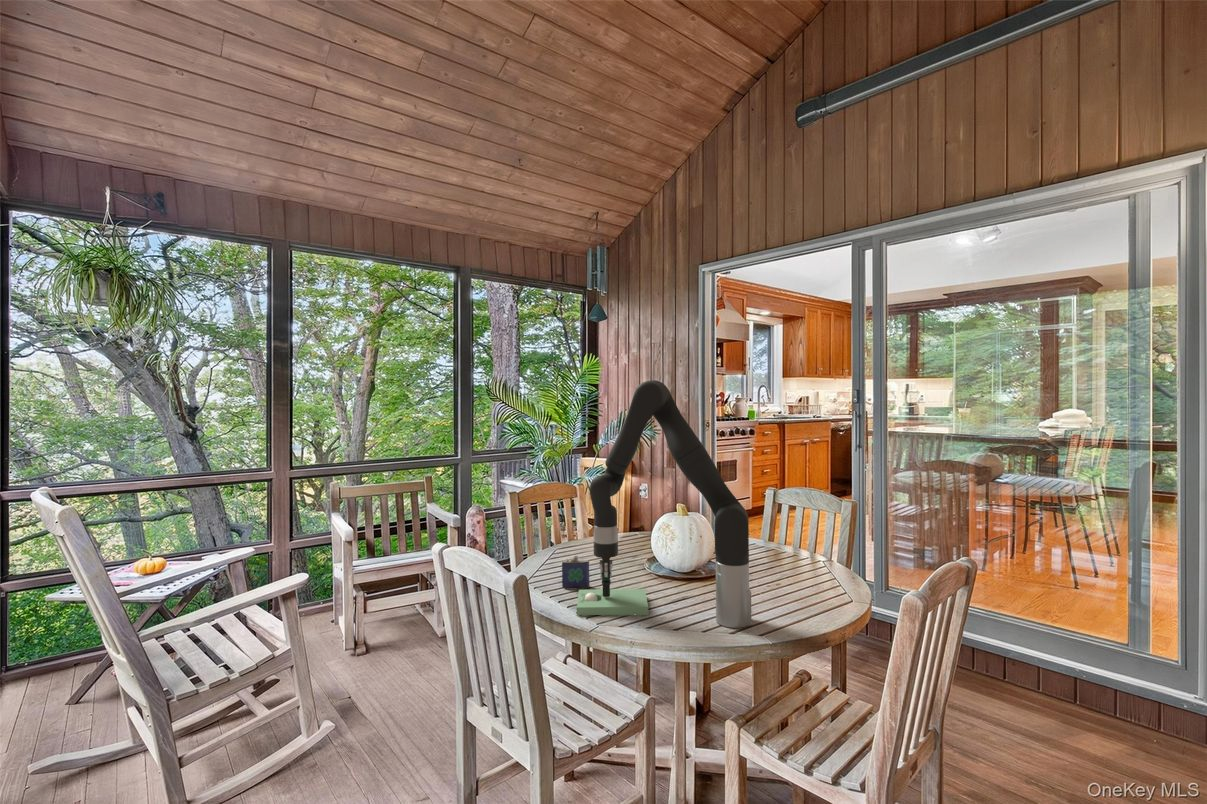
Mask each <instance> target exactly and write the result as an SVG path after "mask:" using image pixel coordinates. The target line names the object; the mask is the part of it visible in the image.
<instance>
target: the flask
mask: <svg viewBox="0 0 1207 804" xmlns="http://www.w3.org/2000/svg"><path fill="white" fill-rule="evenodd" d="M578 558H579V556H578V555H574V556H573V558H572V559H566V560H562V563H561V572H562V573H561V585H562V586H561V587H562V589H563V588H580V589H587V588H586V587H590V560H588V559H584V560H583V559H578Z"/></svg>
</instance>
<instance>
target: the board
mask: <svg viewBox="0 0 1207 804" xmlns="http://www.w3.org/2000/svg"><path fill="white" fill-rule="evenodd" d="M588 593H594V594H595V595H596V596H597V601H584V598H585V596H586V594H588ZM577 595H578V596H577V602H576V616H577V615H618V616H649V604H648V600H647V599H648V598H647V594H646V589H645V588H627V589H626V588H623V589H622V588H620V589H619V588H617V589H615V588H613V589H612V588H610V596H609V597H603V588H602V589H599V588H598V589H578V594H577ZM634 614H636V615H634Z"/></svg>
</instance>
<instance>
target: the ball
mask: <svg viewBox="0 0 1207 804" xmlns="http://www.w3.org/2000/svg"><path fill="white" fill-rule="evenodd" d="M584 601H597V596H596V595H595V594H594V593H588V594H586V596H585V598H584Z"/></svg>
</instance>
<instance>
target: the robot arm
mask: <svg viewBox="0 0 1207 804" xmlns="http://www.w3.org/2000/svg"><path fill="white" fill-rule="evenodd" d="M652 417H654V419H655V420H656V422H657V423H658V424H659V427H661V430H662V432H663V434H664V438H665V440H666V443H667V446H668V447H667V448H668V449H669V452H670V453H671V457H672V458H673V460H674V461H675V464H677V466H678V468H679V470H680V471H681V473H683V475H684V477H685V478H686V479H687V480H688V481H689V482H690V484H691V485H693V486H694V488H695V489H697V491H699V493H700V494H701V495H702V497H703V498H704V500H705V501H706V502H707V504H708V507H709V508H710V509H711V512H712V513H713V515H714V527H713V529H714V531H713V532H714V553H715V556H714V557H715V621H716V623H717V622H718V623H717V624H718V625H721V626H723V627H726V628H730V629H733V628H734V629H739V628H745V627H749V626H752V625H753V624H752V591H751V589H750V546H749V543H750V542H749V541H750V539H749V535H750V532H749V529H750V528H749V525H750V524H749V523H750V522H749V521H750V520H749V514H748V512H747V510H746V509H745V508H744V506H743V505H742V504H741V502H739V500H738V499H737V498H736V496H735V495H734V494H733V492H732V491H731V490H730V488H729V487H728V486H727V484H726V483H725V481H724V479H723V477H722V475H721V474H720V471H719V469H718V468H717V466H716V464H715V462H714V461H713V459H712V457H711V456H710V453H708V451H707V449H706V448H705V446H704V445H703V443H702V441H701V440H700V439H699V438H698V436H697V435H696V433H695V432H694V430H693V429H692V427H691V426H690V425H689V423H688V422H687V421H686V419H685V417H683V414H682V413H681V411H680V409H679V407H678V405H677V404H676V402H675V400H674V398H673V396H672V393H671V392H670V390H669V388H668V386H666V384H665V383H664V382H662V381H659V380H657V379H655V380H647V381H643V382H641V383H640V384H639V385H638V386H637V387H636V388H635V390H634V393H633V396H632V398H631V402H630V406H629V408H628V412H627V415H626V417H625V420H624V422H623V425H622V427H621V429H620V431H619V433H618V436H617V437H616V439H615V441H614V443H613V445H612V447H611V449H610V451H609V453H608V454H607V456H606V460H605V466H606V469H605V472H604V473H603V474H602V475H598V476H595V477H593V478H592V480H591V482H590V485H589V496H590V500H591V501H590V502H591V504H592V506H591V507H592V508H593V512H594V515H593V516H594V519H593V535H592V536H593V555H594V557H597V558H601V559H600V560H599V569H600V578H601V585H602V589H603V597H609V596H610V589H611V586H610V585H611V578H612V575H613V574H612V572H613V560H612V559H611V558H614V557H615V558H616V557H617V556H618V555H619V530H618V529H619V528H618V513H617V512H618V511H617V508H616V507H615V506H614V505H613V503H612V498H611V497H613V496H615V495H616V494H618V492H619V491H620V490H621V488H622V487H623V484H624V479H625V477H626V474H627V470H628V469H629V466H630V465H631V462H632V460H633V458H634V457H635V454H636V452H637V449H638V446H639V444H640V440H641V437H642V435H643V433H644V430H645V428H646V426H647V424H648V422H649V421H650V420H651V418H652Z"/></svg>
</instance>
